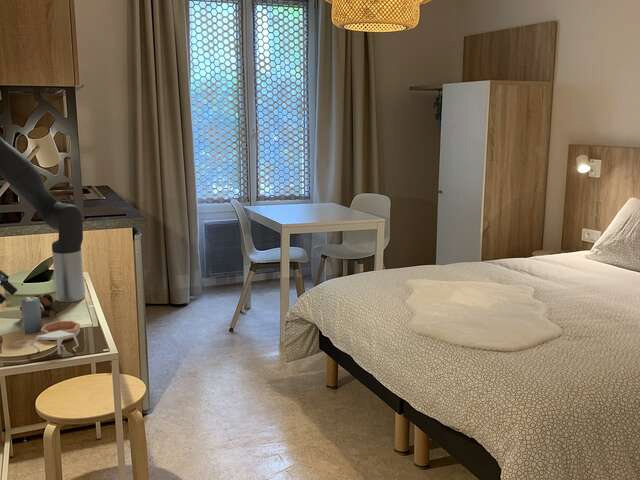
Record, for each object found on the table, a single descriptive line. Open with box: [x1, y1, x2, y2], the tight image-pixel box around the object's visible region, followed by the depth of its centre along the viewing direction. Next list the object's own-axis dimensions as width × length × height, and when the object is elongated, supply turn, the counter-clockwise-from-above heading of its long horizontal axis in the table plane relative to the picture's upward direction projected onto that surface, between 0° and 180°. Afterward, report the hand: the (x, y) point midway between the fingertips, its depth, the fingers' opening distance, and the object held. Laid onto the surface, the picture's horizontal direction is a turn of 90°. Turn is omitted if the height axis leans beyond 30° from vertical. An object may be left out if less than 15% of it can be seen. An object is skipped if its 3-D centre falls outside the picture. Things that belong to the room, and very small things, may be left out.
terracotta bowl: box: [40, 320, 81, 341], centre depth 192 cm, size 10×10×2 cm
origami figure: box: [29, 330, 79, 355], centre depth 180 cm, size 12×8×5 cm
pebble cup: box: [20, 296, 43, 335], centre depth 194 cm, size 5×5×11 cm
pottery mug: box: [19, 293, 57, 320], centre depth 207 cm, size 12×10×8 cm
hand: (9, 296), depth 192 cm, fingers open, 8 cm apart
